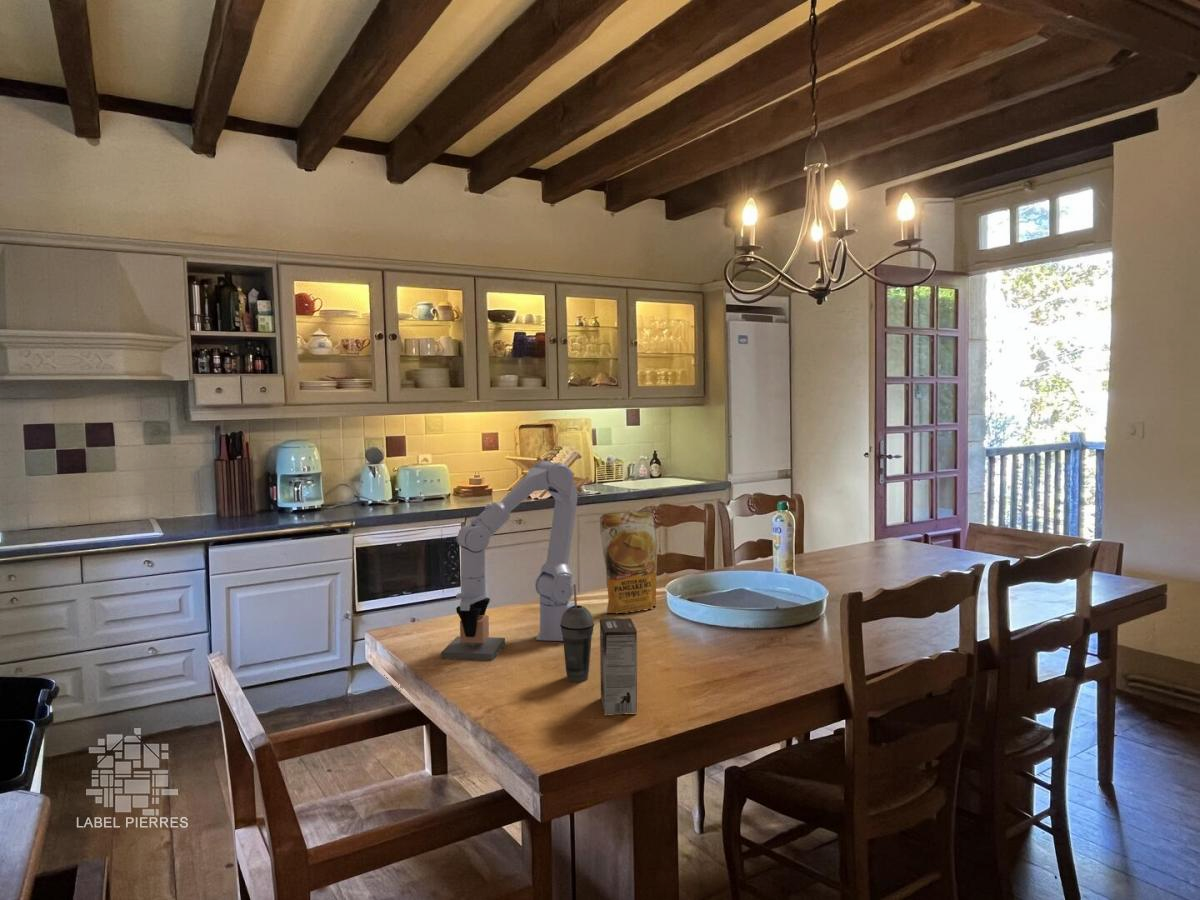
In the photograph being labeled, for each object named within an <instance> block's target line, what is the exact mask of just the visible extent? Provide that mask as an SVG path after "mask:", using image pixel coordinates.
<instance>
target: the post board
mask: <svg viewBox="0 0 1200 900" xmlns="http://www.w3.org/2000/svg"><path fill="white" fill-rule="evenodd" d="M504 644H506V638H505V637H493V636H492V637H490V636H488V638H487V639H486V640H485V641H484V642H483V643H470V642H460V635H457V636H455V638H454V639H453V640H452V641H451V642H450V643H449V644H448V645H446V647H444V649H443V650H442V651H441V658H450V659H451V660H469V659H479V660H478V661H493V660H494V659H495V658H496V656H497V655H498V654H499V652H500V651H501V650H500V649H502V648H503V647H504V646H505V645H504ZM497 653H498V654H497ZM494 657H495V658H494ZM455 658H456V659H455ZM450 659H449V660H450Z"/></svg>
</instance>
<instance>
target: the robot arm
mask: <svg viewBox="0 0 1200 900" xmlns="http://www.w3.org/2000/svg"><path fill="white" fill-rule="evenodd" d="M574 477H575V473H574V472H573V471H572V469H571V468H570V467H569V466H568V465H567V464H566V463H563V462H552V461H548V460H541V461H539V462H537V463H536V464H535V465H534V467H532V468H530V469H529V470H528V471H527V472H526V475H525V476H524V477H523V478H521V480H519V482H518V483H517V484H516V485H515V486H514V487H513V488H512V489H511V490H510V491H509V492H508V493H507V495H505V497H503V499H501V500H500V501H499V502H495V501H494V502H491V503H487V504H486V505H485V506H484V510H483V511H482V512H481V513H480V514H479V515H478V516H476V518H472V519H470V521H469V522H470V524H465V525H463V526H462V527H461V528H460V529H459V531H458V533H457V536H456V537H455V540H456V543H457V544H458V545H459V547H460V592H458V593H456V595H455V596H456V598H457V599H460V602H459V603H460V604H459V605H458V606H457V607H456V608H455V611H456V613H457V615H458V617H459V619H460V621H462V624H463V628H464V632H465V636H466V637H475V634H476V628H477V620H478V616H479V615H486V611H487V610H488V609H487V608H488V606H489V603H490V601H491V599H490V597H487V592H486V550H485V549H487V547H488V545H489V543H490V539H491V538H492V537H493V536H494V535H495V534H496V533H497V532H498V531H499V530H500V529H501V528H502V527H503V526H504V525H506V523H508V521H509V520H510V517H511V516H510V515H511V512H512V511H513V510H514V509H515V508H516V507H518V506H519V505H520V504H521V503H523V502H524V501H525V500H526V499H527V498H528V497H530V496H531V494H533V493H534V492H538V491H548V492H549V494H550V496H552V497H553V499H554V502H555V503H554V509H553V515H552V516H553V517H552V521H551V522H552V523H551V529H550V536H549V541H548V542H549V543H548V549H547V556H546V561H545V563H543V565H542V566H541V568H540V572H539V575H538V576H537V578H536V579H535V584H534V588H535V591H536V593H537V594H538V595H539V632H538V634H537V636H536V637H535V640H536V641H550V642H552V641H553V642H563V635H562V631H561V627H560V624H561V619H562V616H563V614H564V612H565V611H566V610H567V609H568V608H570V607H572V606H575V604H574V601H570V599H571V598H572V596H573V595H574V586H573V585H574V584H573V582H572V581H573V580H572V577H573V574H572V571H571V569H570V567H569V559H570V558H569V557H570V552H571V546H572V538H573V533H574V532H573V531H574V524H575V518H576V510H577V505H578V491H577V487H576V484H575V480H574Z"/></svg>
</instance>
